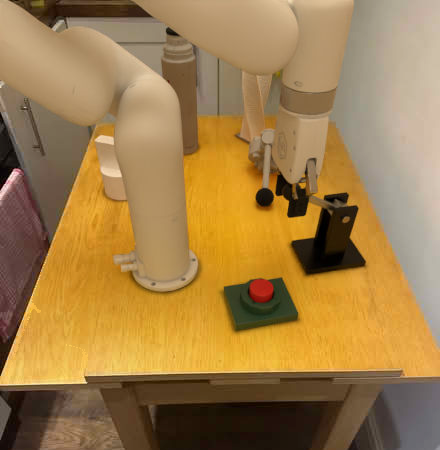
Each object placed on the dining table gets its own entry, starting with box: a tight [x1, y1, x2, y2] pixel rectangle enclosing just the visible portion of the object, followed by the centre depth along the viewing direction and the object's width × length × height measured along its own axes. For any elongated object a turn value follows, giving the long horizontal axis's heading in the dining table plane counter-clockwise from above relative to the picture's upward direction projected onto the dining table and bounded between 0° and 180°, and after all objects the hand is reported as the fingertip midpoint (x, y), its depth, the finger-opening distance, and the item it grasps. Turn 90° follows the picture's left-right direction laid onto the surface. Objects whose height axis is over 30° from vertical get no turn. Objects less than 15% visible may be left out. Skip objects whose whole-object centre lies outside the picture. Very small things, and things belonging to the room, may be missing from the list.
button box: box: [223, 276, 300, 332], centre depth 71 cm, size 11×9×4 cm
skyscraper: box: [235, 70, 273, 145], centre depth 104 cm, size 8×8×28 cm
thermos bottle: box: [160, 26, 199, 156], centre depth 100 cm, size 8×8×28 cm
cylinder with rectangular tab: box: [94, 134, 127, 201], centre depth 92 cm, size 9×9×12 cm
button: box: [249, 278, 274, 303], centre depth 69 cm, size 4×4×2 cm
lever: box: [282, 183, 349, 215], centre depth 71 cm, size 14×3×3 cm, turn 103°
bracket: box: [290, 191, 367, 276], centre depth 77 cm, size 12×9×13 cm
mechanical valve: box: [247, 128, 278, 208], centre depth 97 cm, size 10×18×15 cm
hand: (289, 204), depth 70 cm, fingers open, 5 cm apart
